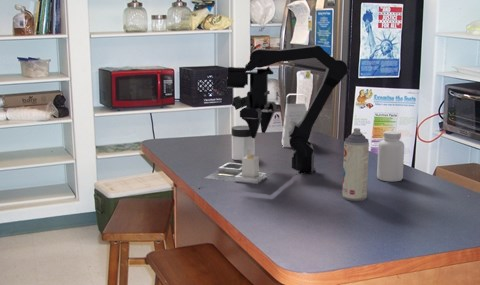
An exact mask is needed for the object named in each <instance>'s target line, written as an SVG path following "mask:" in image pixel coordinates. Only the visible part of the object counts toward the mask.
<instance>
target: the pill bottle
mask: <svg viewBox="0 0 480 285" xmlns="http://www.w3.org/2000/svg"><path fill="white" fill-rule="evenodd" d="M382 134H383V135H382V136H383V137H382V140H380V141H379V142H378V145H377V146H378V147H377V165H376V166H377V168H376V169H377V170H376V178H377V179H378V180H380V181H384V182H391V183H392V182H400V181H402V180H403V177H404V163H405V161H404V160H405V144H404V142H403V141H402V140H401V137H402V133H401V132H400V131H396V130H394V131H393V130H387V131H386V130H385V131H383V133H382Z"/></svg>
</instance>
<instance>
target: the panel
mask: <svg viewBox="0 0 480 285" xmlns="http://www.w3.org/2000/svg"><path fill="white" fill-rule="evenodd" d="M275 173H277V172H276V171H274V170H265V169H259V176H258V177H256V178H252V177H243V176H242V163H238V162H237V163H235V162H226V163H225V164H223V165H221V166H218V170H216V171H214V172H212V173H211V174H208V175H207V176H205V177H204V180H205V179H206V180H216V181H223V182H224V181H225V182H234V183H235V182H236V183H244V184H252V185H260V184H261V183H262V182H264V181H265V180H266V179H268V178H269V177H270V176H271V175H273V174H275Z"/></svg>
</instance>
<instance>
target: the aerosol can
mask: <svg viewBox="0 0 480 285" xmlns="http://www.w3.org/2000/svg"><path fill="white" fill-rule="evenodd" d="M369 147H370V143H369V138H366V136H365V135H364V134H363V133H362V132H361V129H360V128H359V127H358V128H353V132H351V134H349V135H348V137H345V138H344V143H343V164H342V166H343V168H342V169H343V172H342V199H343V200H345V201H348V202H363V201H366V200H367V198H368V196H367V195H368V173H369V170H368V169H369V153H370V152H369V149H370V148H369Z"/></svg>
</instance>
